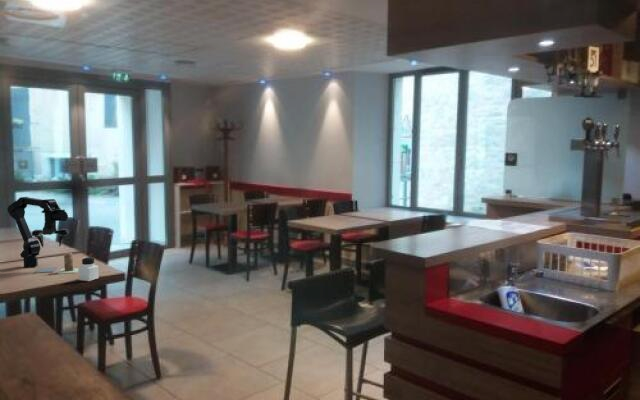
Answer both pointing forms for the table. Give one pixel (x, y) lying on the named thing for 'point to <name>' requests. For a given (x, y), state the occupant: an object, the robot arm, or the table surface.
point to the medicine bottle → (88, 270)
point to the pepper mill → (68, 261)
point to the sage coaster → (68, 271)
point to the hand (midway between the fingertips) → (51, 246)
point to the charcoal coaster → (45, 270)
